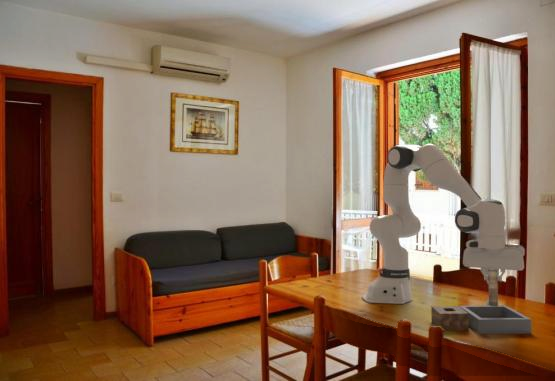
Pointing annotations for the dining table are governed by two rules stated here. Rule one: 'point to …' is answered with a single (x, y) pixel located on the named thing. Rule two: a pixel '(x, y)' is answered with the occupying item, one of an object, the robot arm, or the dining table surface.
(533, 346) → the dining table surface
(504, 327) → the tray
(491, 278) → the dowel
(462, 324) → the dowel block
